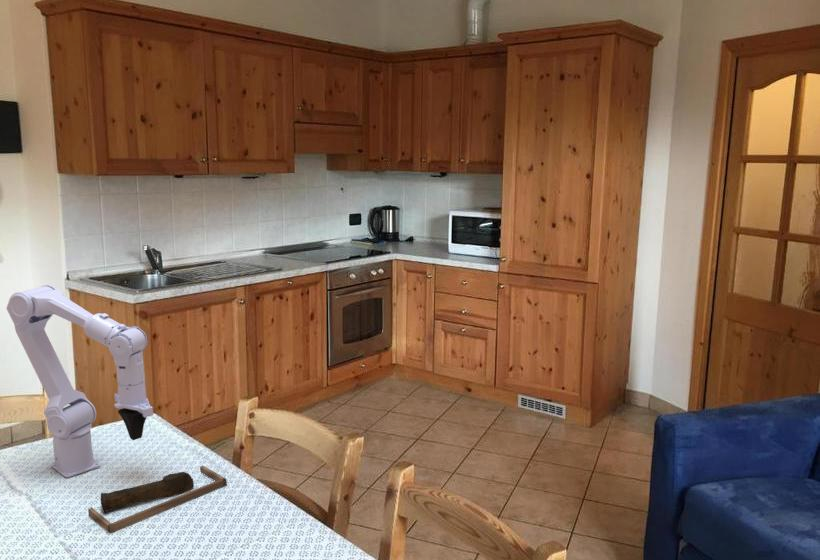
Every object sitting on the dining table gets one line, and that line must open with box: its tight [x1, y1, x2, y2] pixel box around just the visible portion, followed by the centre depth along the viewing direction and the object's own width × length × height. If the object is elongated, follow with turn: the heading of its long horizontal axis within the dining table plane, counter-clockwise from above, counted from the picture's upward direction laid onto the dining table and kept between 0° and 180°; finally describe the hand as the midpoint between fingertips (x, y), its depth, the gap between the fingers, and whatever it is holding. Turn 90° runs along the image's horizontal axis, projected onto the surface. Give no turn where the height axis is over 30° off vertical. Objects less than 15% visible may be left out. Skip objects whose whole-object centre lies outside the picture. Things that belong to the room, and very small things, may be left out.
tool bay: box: [88, 465, 228, 534], centre depth 147 cm, size 10×27×2 cm, turn 138°
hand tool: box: [100, 471, 195, 513], centre depth 147 cm, size 19×4×5 cm, turn 118°
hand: (136, 438), depth 156 cm, fingers closed
